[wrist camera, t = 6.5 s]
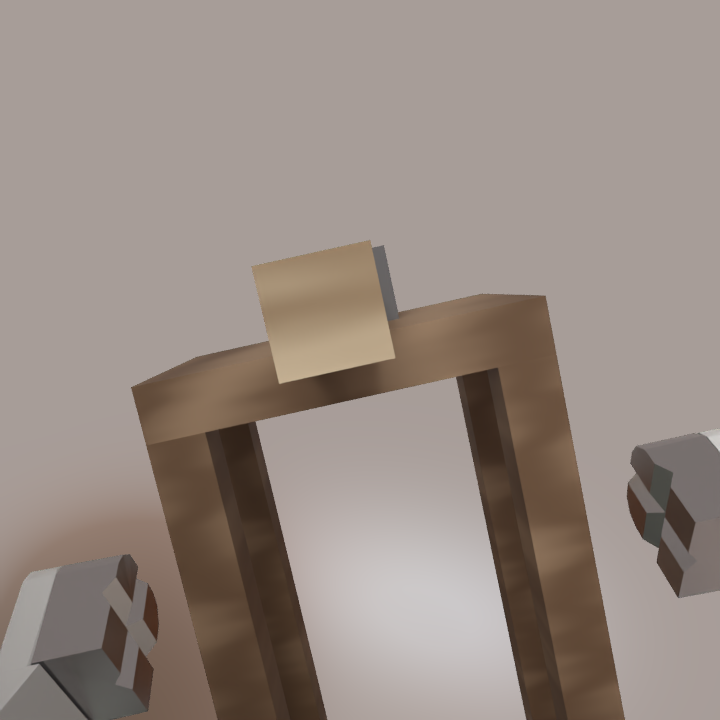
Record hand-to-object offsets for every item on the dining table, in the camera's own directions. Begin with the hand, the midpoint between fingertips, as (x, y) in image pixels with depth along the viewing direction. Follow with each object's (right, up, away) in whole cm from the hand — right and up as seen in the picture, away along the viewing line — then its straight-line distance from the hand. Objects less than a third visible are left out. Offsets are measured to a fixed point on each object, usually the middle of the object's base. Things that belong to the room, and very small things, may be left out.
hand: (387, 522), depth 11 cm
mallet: (-1, +3, +12) cm, 12 cm away
